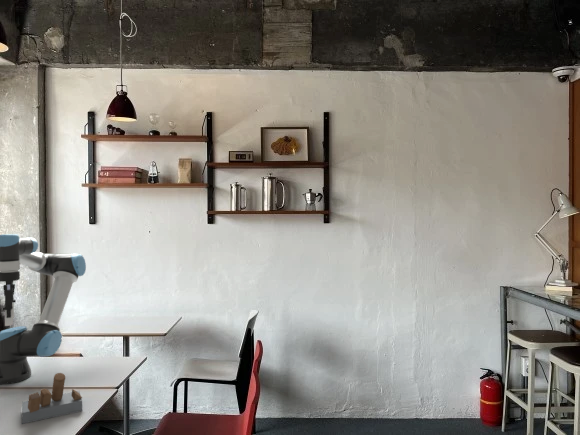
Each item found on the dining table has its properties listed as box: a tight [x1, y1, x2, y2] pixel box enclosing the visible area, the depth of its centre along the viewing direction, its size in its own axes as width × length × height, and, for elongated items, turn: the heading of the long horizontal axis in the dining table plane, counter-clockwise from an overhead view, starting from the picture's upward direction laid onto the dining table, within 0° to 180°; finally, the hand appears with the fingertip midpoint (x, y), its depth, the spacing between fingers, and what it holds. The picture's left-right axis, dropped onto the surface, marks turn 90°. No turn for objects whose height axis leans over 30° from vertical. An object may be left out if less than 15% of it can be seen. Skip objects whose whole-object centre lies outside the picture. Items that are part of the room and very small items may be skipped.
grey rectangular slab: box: [21, 390, 83, 424], centre depth 169 cm, size 11×20×4 cm, turn 121°
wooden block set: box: [27, 372, 83, 413], centre depth 166 cm, size 18×9×10 cm, turn 139°
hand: (9, 321), depth 182 cm, fingers open, 13 cm apart
